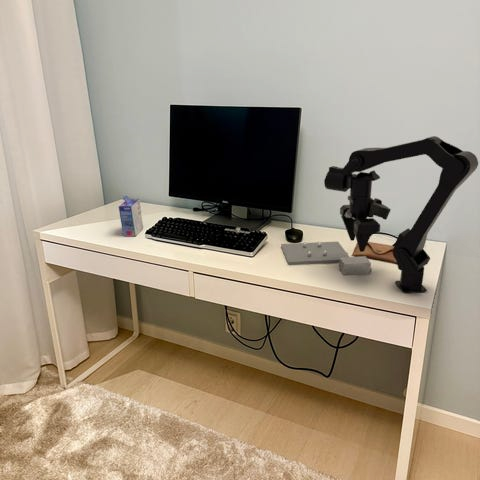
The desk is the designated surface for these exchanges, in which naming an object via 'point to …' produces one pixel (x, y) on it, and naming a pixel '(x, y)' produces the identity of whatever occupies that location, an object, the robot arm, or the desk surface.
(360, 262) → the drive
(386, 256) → the sunglasses case
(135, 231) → the ink cartridge box
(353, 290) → the desk surface
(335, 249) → the pin tray
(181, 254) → the desk surface
